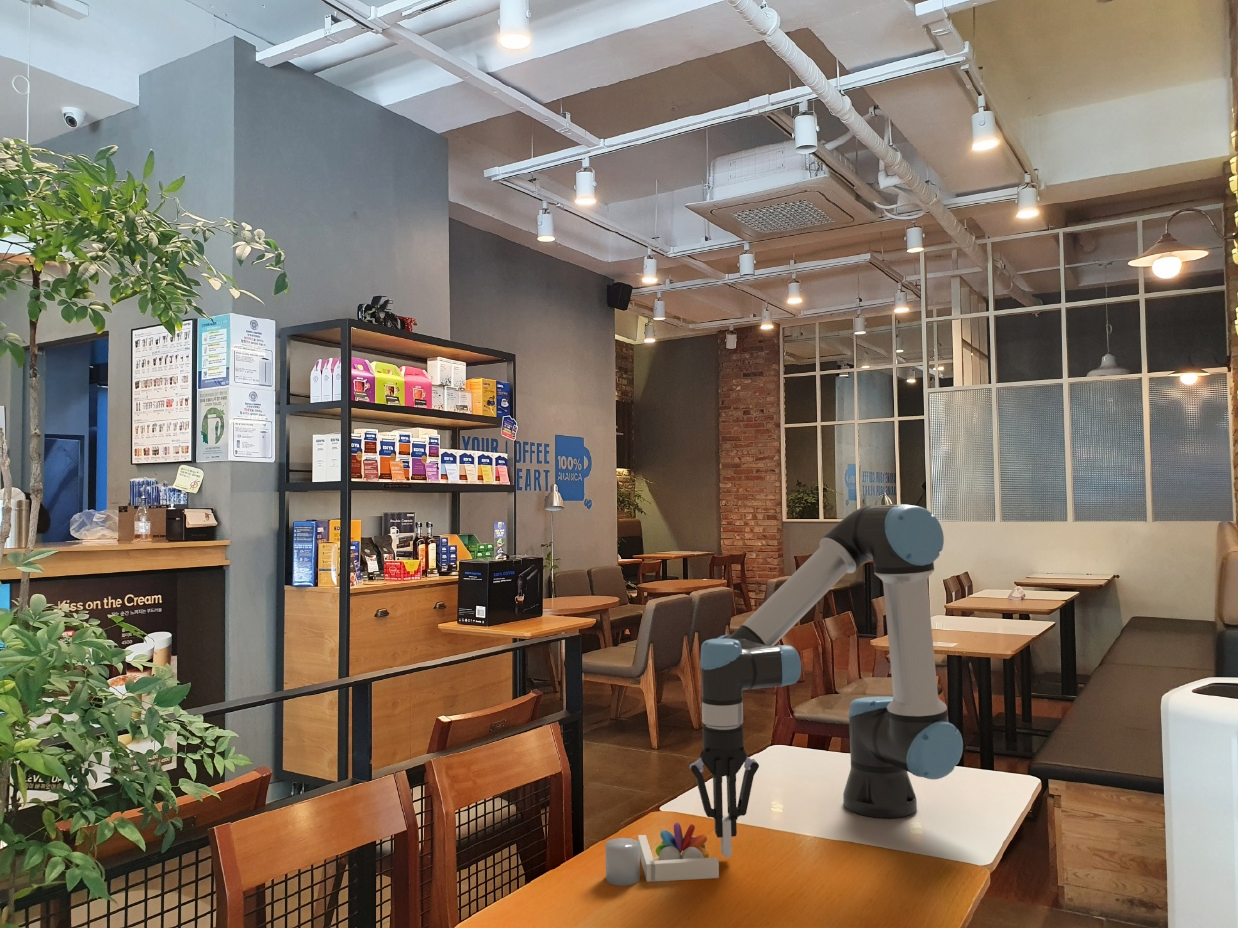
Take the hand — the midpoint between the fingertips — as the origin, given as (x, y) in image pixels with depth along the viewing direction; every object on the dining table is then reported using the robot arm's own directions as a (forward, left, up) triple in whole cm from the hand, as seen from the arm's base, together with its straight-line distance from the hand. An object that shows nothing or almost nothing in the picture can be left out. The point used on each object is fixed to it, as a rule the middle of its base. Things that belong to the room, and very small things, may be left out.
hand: (726, 853), depth 168 cm
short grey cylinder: (+20, +5, -1) cm, 20 cm away
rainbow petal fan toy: (+8, 0, -2) cm, 8 cm away
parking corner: (+9, 0, -1) cm, 9 cm away
